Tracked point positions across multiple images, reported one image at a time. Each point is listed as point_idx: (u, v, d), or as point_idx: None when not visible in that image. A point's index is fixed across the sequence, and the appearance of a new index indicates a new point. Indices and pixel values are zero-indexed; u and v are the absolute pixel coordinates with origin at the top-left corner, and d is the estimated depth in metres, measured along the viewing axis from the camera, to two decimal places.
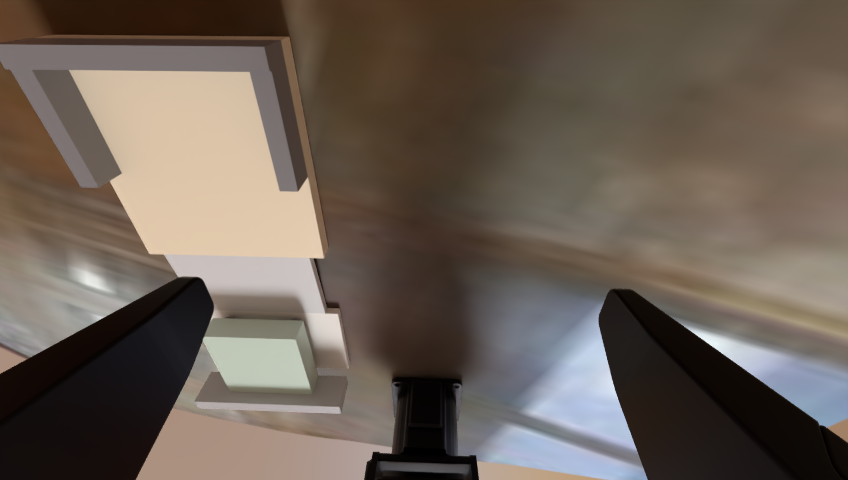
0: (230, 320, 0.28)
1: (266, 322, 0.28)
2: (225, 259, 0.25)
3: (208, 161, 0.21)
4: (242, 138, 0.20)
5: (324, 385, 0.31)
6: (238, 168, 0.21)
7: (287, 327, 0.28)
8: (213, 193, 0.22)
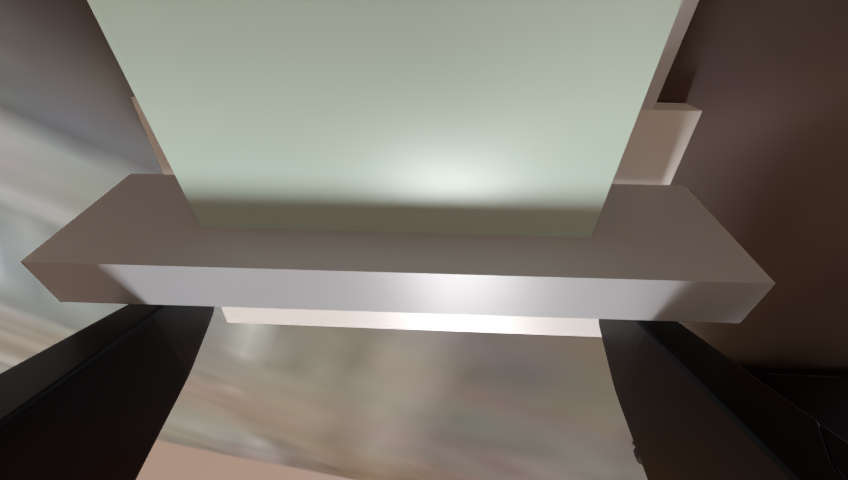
0: None
1: None
2: None
3: None
4: None
5: (618, 209, 0.07)
6: None
7: None
8: None
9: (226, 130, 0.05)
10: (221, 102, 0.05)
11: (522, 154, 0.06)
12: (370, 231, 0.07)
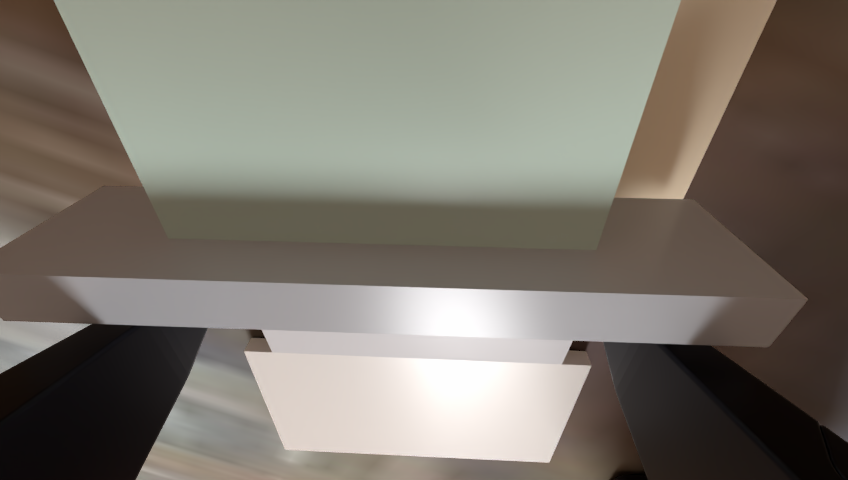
0: None
1: None
2: None
3: None
4: None
5: (624, 222, 0.07)
6: None
7: None
8: None
9: (195, 127, 0.05)
10: (189, 95, 0.05)
11: (518, 154, 0.05)
12: (353, 243, 0.06)
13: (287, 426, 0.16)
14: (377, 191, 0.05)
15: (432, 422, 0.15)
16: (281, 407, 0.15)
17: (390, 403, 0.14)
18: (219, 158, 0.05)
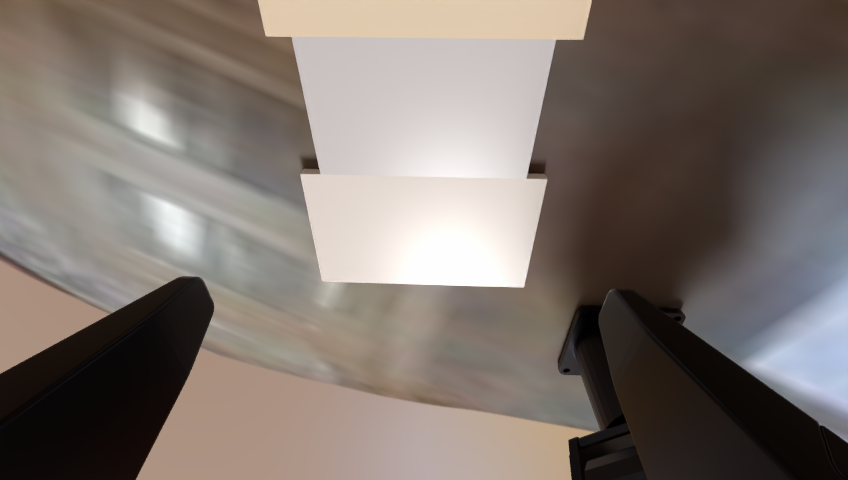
0: None
1: None
2: (400, 47, 0.14)
3: None
4: None
5: None
6: None
7: None
8: None
9: None
10: None
11: None
12: None
13: (325, 254, 0.21)
14: None
15: (434, 244, 0.20)
16: (322, 233, 0.20)
17: (403, 225, 0.20)
18: None
